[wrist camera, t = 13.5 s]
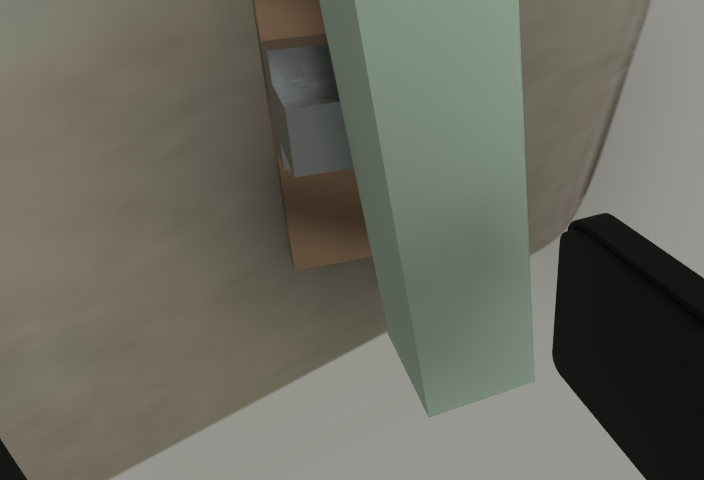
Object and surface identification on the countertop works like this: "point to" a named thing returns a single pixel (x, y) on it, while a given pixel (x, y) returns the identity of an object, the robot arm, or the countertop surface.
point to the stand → (309, 136)
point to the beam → (441, 185)
